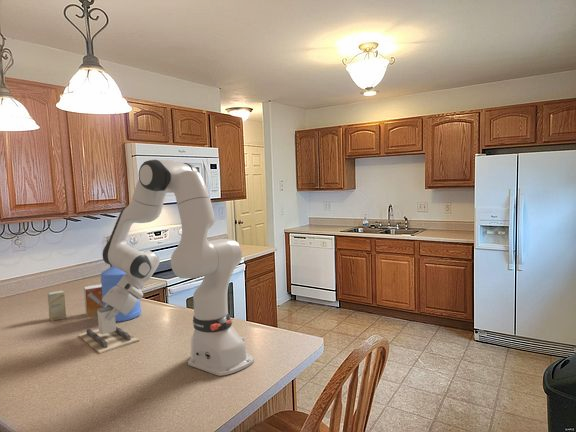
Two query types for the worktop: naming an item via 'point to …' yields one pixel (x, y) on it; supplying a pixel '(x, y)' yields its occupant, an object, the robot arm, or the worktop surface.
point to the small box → (93, 299)
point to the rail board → (108, 339)
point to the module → (105, 324)
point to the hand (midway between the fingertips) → (104, 318)
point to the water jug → (111, 279)
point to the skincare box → (56, 305)
